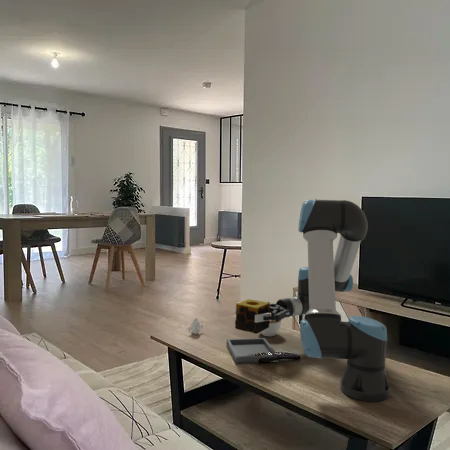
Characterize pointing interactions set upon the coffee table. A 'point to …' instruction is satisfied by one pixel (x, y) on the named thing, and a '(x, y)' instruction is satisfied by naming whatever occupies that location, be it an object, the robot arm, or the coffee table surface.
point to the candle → (251, 316)
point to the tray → (248, 349)
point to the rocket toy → (195, 326)
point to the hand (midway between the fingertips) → (245, 314)
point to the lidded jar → (272, 328)
